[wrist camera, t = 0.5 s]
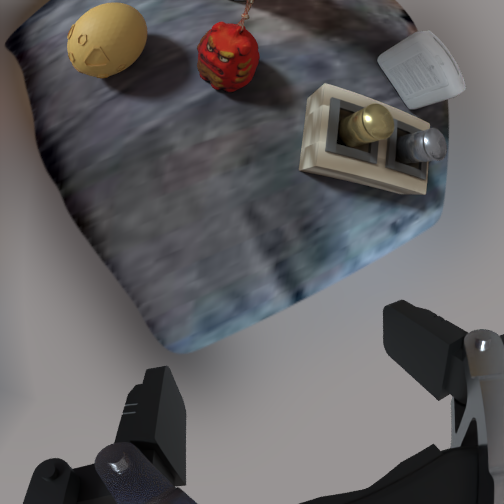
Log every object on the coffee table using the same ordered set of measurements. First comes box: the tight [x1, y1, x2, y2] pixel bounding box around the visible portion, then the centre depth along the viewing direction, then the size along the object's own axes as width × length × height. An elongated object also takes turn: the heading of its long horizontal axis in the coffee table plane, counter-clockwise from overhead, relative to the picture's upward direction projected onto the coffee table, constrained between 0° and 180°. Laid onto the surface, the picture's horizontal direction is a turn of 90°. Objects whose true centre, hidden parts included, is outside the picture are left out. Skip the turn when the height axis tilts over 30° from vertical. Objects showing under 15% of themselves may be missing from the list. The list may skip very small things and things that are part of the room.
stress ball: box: [67, 3, 147, 78], centre depth 24 cm, size 10×10×10 cm
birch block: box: [299, 83, 430, 195], centre depth 34 cm, size 10×16×7 cm, turn 82°
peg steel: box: [396, 128, 447, 164], centre depth 29 cm, size 4×4×6 cm
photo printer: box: [377, 30, 466, 109], centre depth 30 cm, size 10×4×12 cm, turn 38°
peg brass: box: [338, 103, 394, 147], centre depth 28 cm, size 4×4×6 cm
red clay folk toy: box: [197, 0, 259, 92], centre depth 25 cm, size 8×7×15 cm
